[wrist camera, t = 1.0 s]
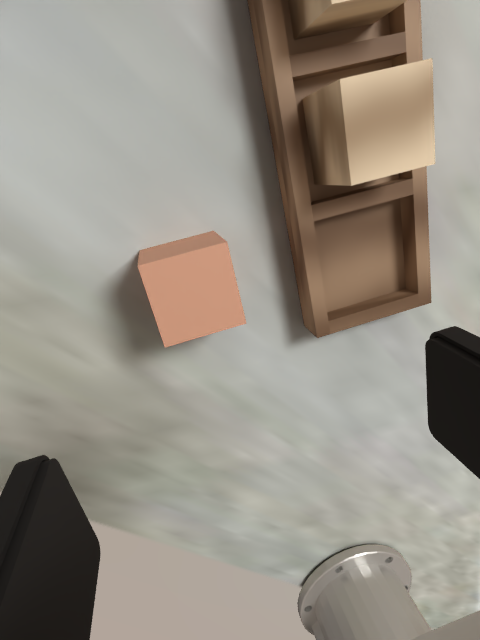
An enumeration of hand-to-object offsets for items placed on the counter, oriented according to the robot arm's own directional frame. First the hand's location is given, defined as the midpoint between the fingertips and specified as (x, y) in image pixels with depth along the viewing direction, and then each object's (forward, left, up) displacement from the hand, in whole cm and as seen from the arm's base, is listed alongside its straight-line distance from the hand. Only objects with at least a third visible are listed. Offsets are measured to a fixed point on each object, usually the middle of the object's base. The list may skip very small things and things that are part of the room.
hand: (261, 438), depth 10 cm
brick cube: (0, 0, -18) cm, 19 cm away
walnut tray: (+13, -4, -18) cm, 23 cm away
